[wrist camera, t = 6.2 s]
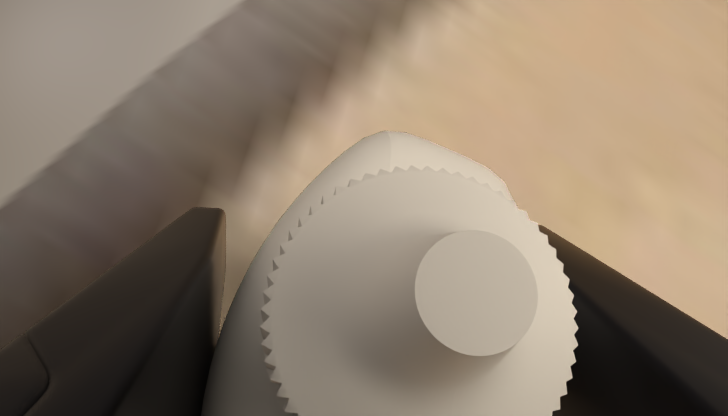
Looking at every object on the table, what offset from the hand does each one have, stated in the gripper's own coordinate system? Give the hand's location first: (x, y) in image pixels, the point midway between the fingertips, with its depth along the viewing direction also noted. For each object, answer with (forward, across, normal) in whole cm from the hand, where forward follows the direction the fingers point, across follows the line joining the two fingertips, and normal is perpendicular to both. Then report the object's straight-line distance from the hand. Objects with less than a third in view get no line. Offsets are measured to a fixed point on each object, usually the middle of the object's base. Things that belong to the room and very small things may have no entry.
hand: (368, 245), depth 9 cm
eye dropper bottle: (+4, 0, +6) cm, 7 cm away
